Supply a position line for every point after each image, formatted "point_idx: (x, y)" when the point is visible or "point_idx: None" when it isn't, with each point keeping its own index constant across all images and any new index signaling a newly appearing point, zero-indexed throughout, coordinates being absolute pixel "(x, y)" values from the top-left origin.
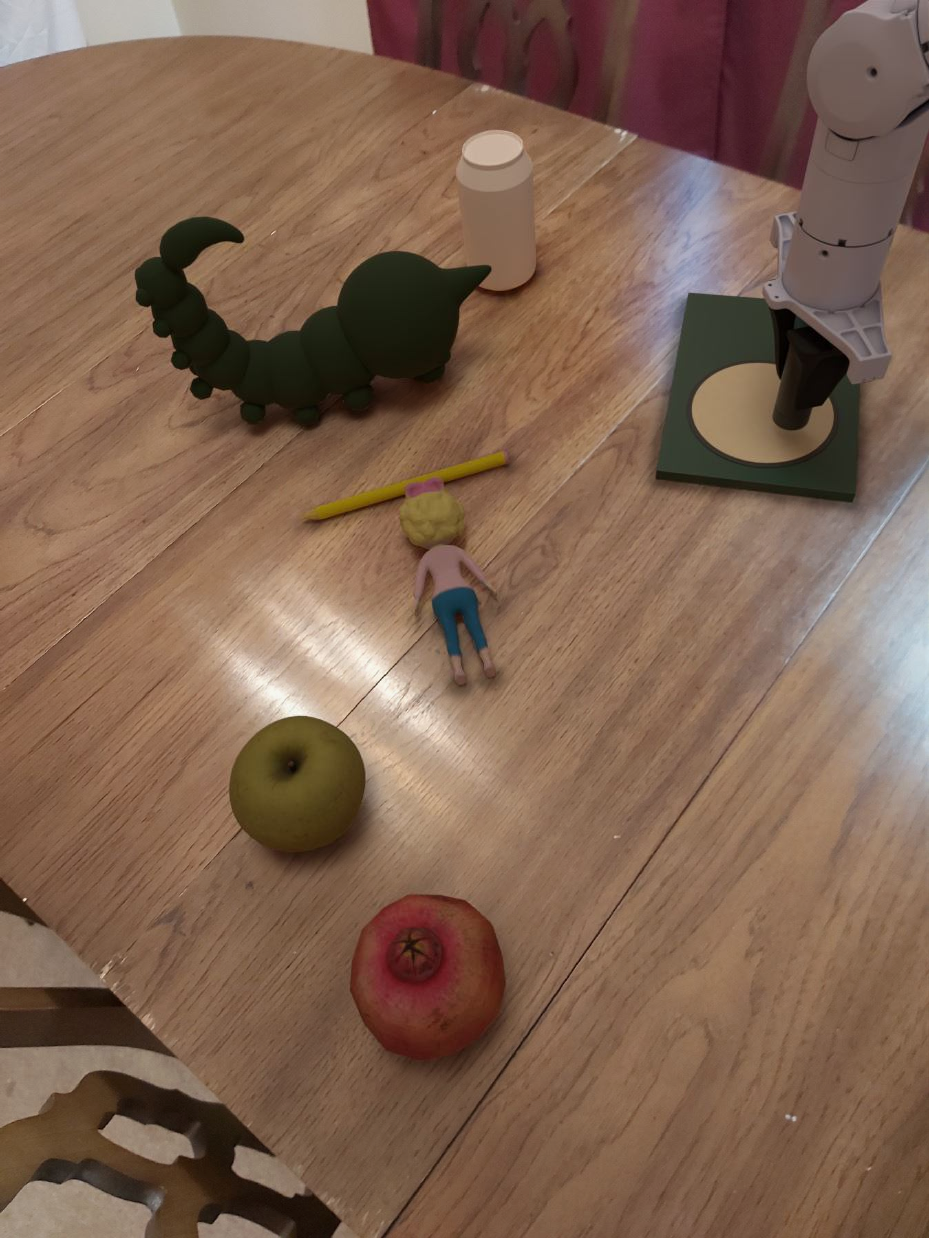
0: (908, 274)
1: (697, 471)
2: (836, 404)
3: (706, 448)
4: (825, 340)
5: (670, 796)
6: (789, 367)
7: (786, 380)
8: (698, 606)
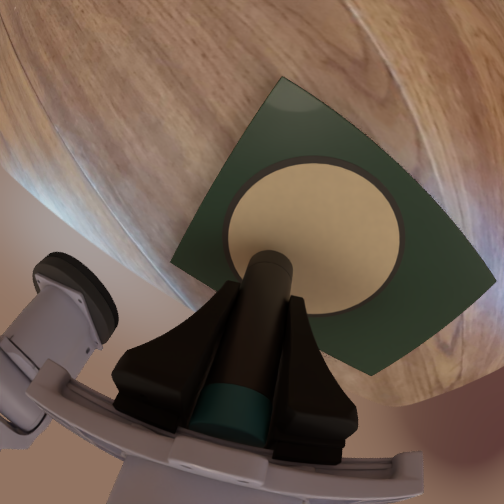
0: (376, 398)
1: (256, 126)
2: None
3: (289, 156)
4: (141, 401)
5: (17, 36)
6: (249, 322)
7: (253, 302)
8: (105, 69)
